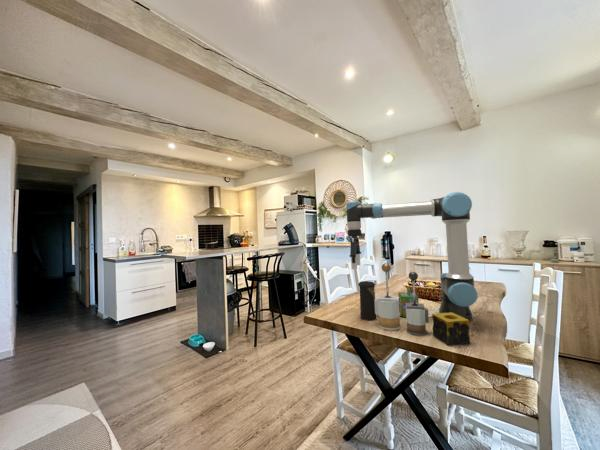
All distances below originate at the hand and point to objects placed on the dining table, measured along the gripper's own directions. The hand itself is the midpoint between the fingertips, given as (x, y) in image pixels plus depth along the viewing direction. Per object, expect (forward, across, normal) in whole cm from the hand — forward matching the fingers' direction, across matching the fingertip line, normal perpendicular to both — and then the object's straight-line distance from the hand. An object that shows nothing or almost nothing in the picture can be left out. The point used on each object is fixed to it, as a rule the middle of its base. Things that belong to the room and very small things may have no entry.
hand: (356, 267), depth 137 cm
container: (+28, 0, +5) cm, 29 cm away
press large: (+28, +8, +16) cm, 33 cm away
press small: (+28, +12, +28) cm, 42 cm away
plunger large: (+14, +8, +16) cm, 23 cm away
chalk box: (+28, -10, +26) cm, 40 cm away
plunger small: (+16, +12, +28) cm, 35 cm away
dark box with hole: (+28, +17, +41) cm, 53 cm away
